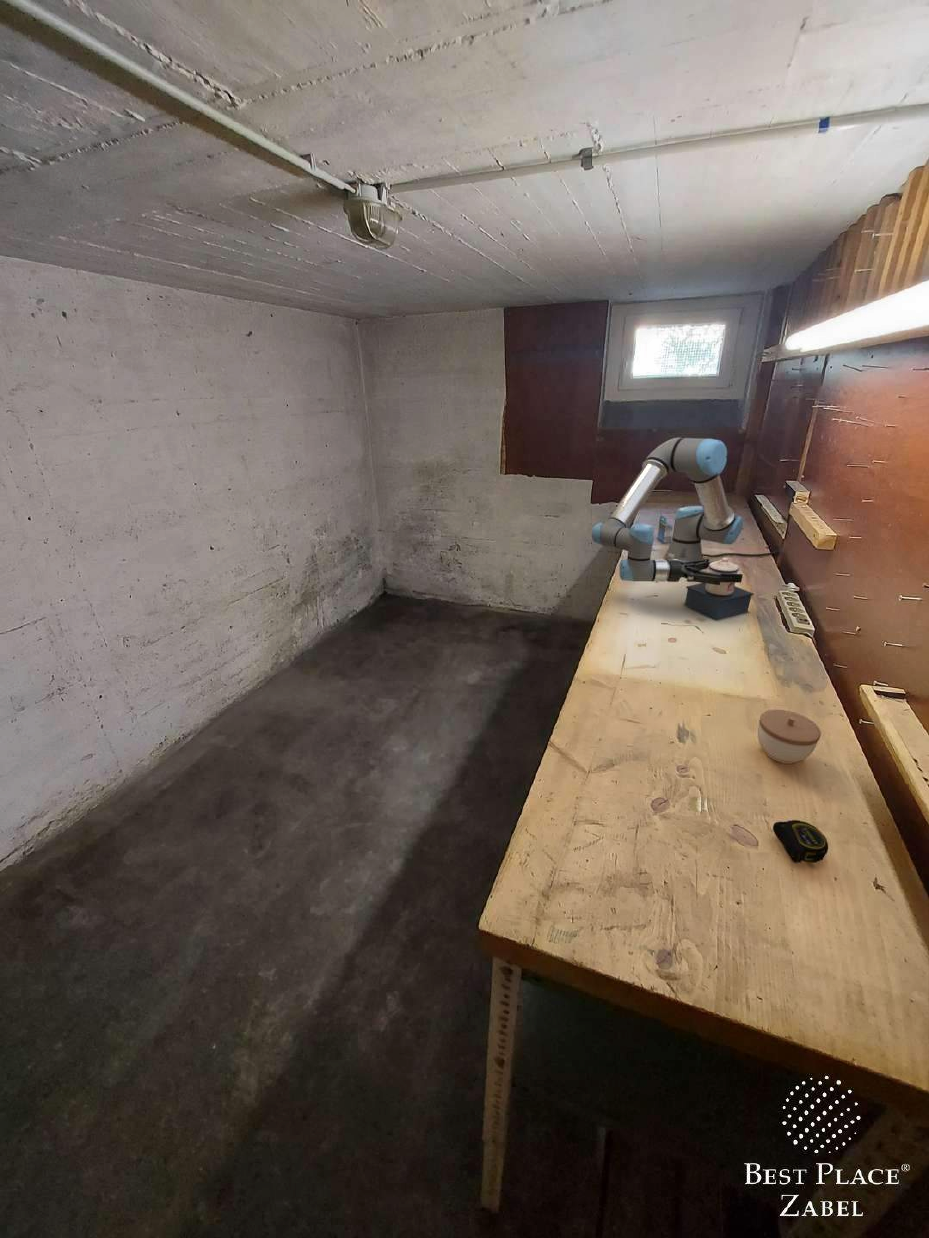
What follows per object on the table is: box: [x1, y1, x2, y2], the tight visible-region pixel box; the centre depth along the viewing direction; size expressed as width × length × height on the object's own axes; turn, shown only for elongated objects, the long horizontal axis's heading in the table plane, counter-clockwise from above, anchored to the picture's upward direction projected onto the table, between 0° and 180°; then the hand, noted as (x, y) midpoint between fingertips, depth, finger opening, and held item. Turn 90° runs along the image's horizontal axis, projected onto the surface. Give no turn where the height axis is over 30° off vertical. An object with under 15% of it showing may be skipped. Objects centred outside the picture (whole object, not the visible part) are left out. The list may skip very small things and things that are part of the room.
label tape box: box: [657, 514, 674, 544], centre depth 238 cm, size 9×4×12 cm, turn 179°
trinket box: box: [757, 709, 822, 765], centre depth 101 cm, size 11×11×9 cm
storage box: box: [684, 583, 754, 621], centre depth 167 cm, size 15×15×7 cm
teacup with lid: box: [705, 557, 740, 595], centre depth 163 cm, size 12×9×12 cm
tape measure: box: [772, 819, 829, 864], centre depth 82 cm, size 7×7×4 cm
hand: (735, 571), depth 162 cm, fingers closed on teacup with lid, 11 cm apart
